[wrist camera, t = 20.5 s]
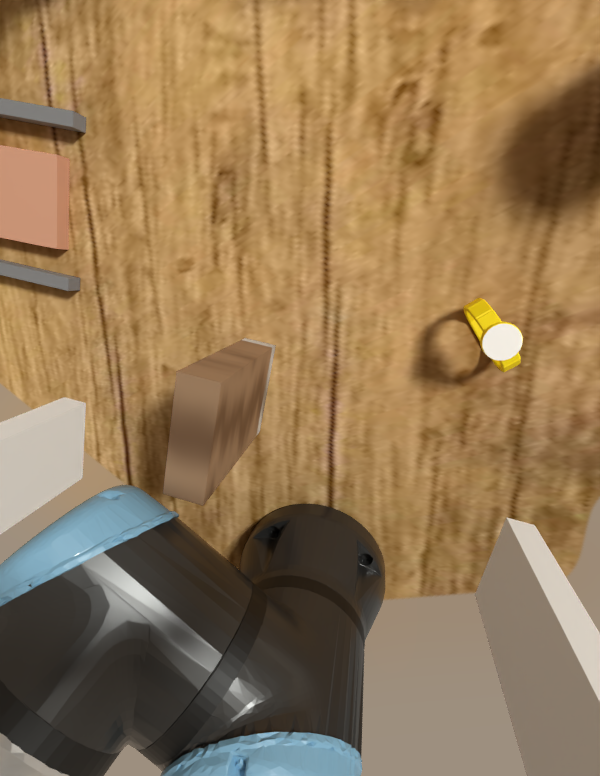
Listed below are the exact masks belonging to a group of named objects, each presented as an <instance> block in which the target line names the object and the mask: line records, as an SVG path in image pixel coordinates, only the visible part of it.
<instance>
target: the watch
mask: <svg viewBox="0 0 600 776" xmlns="http://www.w3.org/2000/svg"><path fill="white" fill-rule="evenodd" d="M464 313H465V316H466V318H467V320H468V322H469V324H470V325H471V327H472V329H473V331H474V332H475V334H476V336H477V338H478V339H479V341H480V346H481V349H482V351H483V352H484V353H485V355H487V356H488V357H489V358H490V359H491V360H492V361H493V363H494V364H495V365H496V366H497V367H498V369H499V370H501V371H502V372H505V371H507V370H509V369H511V368H513V367H515V366H517V365H519V364H520V359H521V358H520V355H519V353H518V352H519V350H520V349H521V346H522V343H523V336H522V333H521V331H520V330H519V329H518V327H516V326H515V325H513V324H511V323H508V322H502V321H501V320H500V318H499V317H498V316H497V314H496V313H495V311H494V310H493V309H492V308H491V307H490V305H489V304H488V303H487V302H486V301H485V300H483V299H481V298H477V299H476V300H474V301H472V302H471V303H469V304H467V305H465V306H464Z"/></svg>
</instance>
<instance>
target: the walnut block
mask: <svg viewBox="0 0 600 776" xmlns="http://www.w3.org/2000/svg"><path fill="white" fill-rule="evenodd" d="M275 346H276V345H272V344H268V343H264V342H259V341H255V340H251V339H247V338H245V339H243V340H241V341H238V342H236V343H234V344H232V345H230V346H228V347H226V348H224V349H222V350H220V351H218V352H216V353H214V354H212V355H210V356H208V357H206V358H203V359H201V360H199V361H197V362H195V363H193V364H191V365H189V366H187V367H185V368H183V369H181V370H179V371H177V373H176V382H175V391H174V400H173V408H172V417H171V426H170V435H169V444H168V453H167V461H166V470H165V479H164V488H163V494H165V495H169V496H172V497H175V498H179V499H182V500H186V501H189V502H192V503H196V504H199V505H204V504H205V503H206V501H207V500H208V499H209V497H210V496H211V495H212V493H213V492H214V491H215V489H216V488H217V487H218V486H219V484H220V483H221V482H222V480H223V479H224V478H225V476H226V475H227V474H228V472H229V471H230V470H231V469H232V467H233V466H234V465H235V463H236V462H237V461H238V459H239V458H240V457H241V455H242V454H243V453H244V452H245V450H246V449H247V448H248V446H249V445H250V444H251V442H252V441H253V440H254V438H255V437H256V436H257V435H258V433H259V432H260V427H261V422H262V416H263V411H264V405H265V400H266V395H267V389H268V384H269V378H270V373H271V367H272V362H273V357H274V351H275Z"/></svg>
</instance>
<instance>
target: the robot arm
mask: <svg viewBox="0 0 600 776" xmlns="http://www.w3.org/2000/svg"><path fill="white" fill-rule="evenodd" d="M85 410H86V403H84V402H80V401H76V400H73V399H69V398H65V397H64V398H61V399H59V400H56V401H54V402H51V403H49V404H46V405H43V406H41V407H38V408H36V409H33V410H31V411H28V412H26V413H24V414H21V415H18V416H16V417H13V418H11V419H9V420H6V421H3V422H1V423H0V535H1V534H2V533H3V532H5V531H6V530H8V529H9V528H11V527H12V526H14V525H15V524H16V523H18V522H19V521H21V520H22V519H24V518H25V517H27V516H28V515H30V514H31V513H33V512H34V511H35V510H37V509H38V508H40V507H41V506H42V505H44V504H46V503H47V502H49V501H50V500H51V499H53V498H54V497H56V496H57V495H59V494H60V493H62V492H63V491H64V490H66V489H67V488H69V487H70V486H72V485H73V484H74V483H76V482H77V481H79V480H80V479H82V477H83V475H82V474H83V454H84V432H85ZM178 516H179V514H177V513H176V512H175V511H169V510H168V509H167V508H165V507H164V506H163V505H161V504H160V503H159V502H157V501H156V500H155V499H154V498H152V497H151V496H150V495H148V494H147V493H146V492H144V491H143V490H141V489H140V488H138V487H135V486H131V485H120V486H116V487H112V488H109V489H107V490H105V491H102V492H100V493H98V494H97V495H95V496H93V497H91V498H90V499H88V500H86V501H85V502H83V503H82V504H80V505H78V506H77V507H75V508H74V509H72V510H71V511H69V512H68V513H66V514H65V515H64V516H62V517H61V518H59V519H58V520H56V521H55V522H54V523H52V524H51V525H49V526H48V527H47V528H45V529H44V530H43V531H41V532H40V533H39V534H37V535H36V536H35V537H34V538H32V539H31V540H30V541H28V542H27V543H26V544H25V545H23V546H22V547H21V548H20V549H18V550H17V551H16V552H15V553H13V554H12V555H11V556H10V557H9V558H8V559H6V560H5V561H4V562H3V563H2V564H1V565H0V776H104V774H105V773H106V772H107V770H108V769H109V767H110V766H111V764H112V763H113V762H114V760H115V759H116V758H117V756H118V755H119V753H120V752H121V751H122V750H123V748H124V747H125V746H126V745H128V744H129V745H130V746H132V747H134V748H136V749H137V750H138V751H139V752H140V753H141V754H143V755H144V756H145V757H146V758H148V759H149V760H150V761H151V762H152V763H154V764H155V765H156V766H157V767H158V768H159V769H160V770H161V771H162V774H161V776H360V775H361V772H362V764H361V762H362V760H361V745H362V712H363V677H364V645H365V644H364V643H365V639H366V637H367V635H368V633H369V631H370V629H371V627H372V625H373V622H374V620H375V618H376V616H377V614H378V612H379V610H380V607H381V605H382V602H383V598H384V593H385V565H384V560H383V556H382V553H381V551H380V549H379V546H378V545H377V543H376V541H375V540H374V538H373V537H372V536H371V534H370V533H369V532H368V531H367V530H366V529H365V528H364V527H363V526H362V525H361V524H360V523H359V522H357V521H356V520H355V519H353V518H352V517H350V516H348V515H347V514H345V513H343V512H341V511H338V510H336V509H333V508H330V507H326V506H322V505H316V504H296V505H290V506H286V507H283V508H280V509H278V510H275V511H273V512H272V513H270V514H268V515H267V516H266V517H264V518H263V519H262V520H261V521H260V522H259V523H258V524H257V525H256V526H255V528H254V529H253V531H252V533H251V535H250V537H249V539H248V541H247V543H246V545H245V547H244V549H243V552H242V556H241V561H240V571H239V570H238V569H237V568H236V567H235V566H234V565H232V564H231V563H230V562H229V561H228V560H226V559H225V558H224V557H223V556H222V555H221V554H219V553H218V552H217V551H216V550H215V549H214V548H212V547H211V546H210V545H209V544H208V543H207V542H205V541H204V540H203V539H202V538H201V537H199V536H198V535H197V534H196V533H195V532H194V531H192V530H191V529H190V528H189V527H188V526H187V525H185V524H184V523H183V522H182V521H181V520H180V519H178V518H177V517H178ZM475 596H476V600H477V603H478V607H479V610H480V614H481V617H482V621H483V624H484V628H485V631H486V634H487V638H488V642H489V645H490V649H491V652H492V655H493V659H494V662H495V666H496V669H497V673H498V676H499V680H500V683H501V687H502V690H503V694H504V697H505V701H506V704H507V708H508V711H509V715H510V718H511V722H512V725H513V729H514V732H515V735H516V739H517V743H518V746H519V750H520V753H521V757H522V760H523V763H524V767H525V770H526V774H527V776H600V633H599V631H598V630H597V628H596V626H595V625H594V623H593V622H592V620H591V618H590V616H589V615H588V613H587V611H586V610H585V608H584V606H583V605H582V603H581V601H580V600H579V598H578V597H577V595H576V593H575V591H574V590H573V588H572V587H571V585H570V583H569V582H568V580H567V578H566V577H565V575H564V573H563V572H562V570H561V568H560V567H559V565H558V563H557V562H556V560H555V558H554V557H553V555H552V553H551V552H550V550H549V548H548V547H547V545H546V543H545V542H544V540H543V538H542V537H541V535H540V533H539V532H538V530H537V528H536V527H535V525H532V524H528V523H525V522H521V521H517V520H514V519H510V518H506V520H505V522H504V525H503V527H502V530H501V532H500V535H499V537H498V540H497V542H496V544H495V547H494V549H493V552H492V554H491V557H490V559H489V562H488V564H487V567H486V569H485V571H484V574H483V576H482V579H481V581H480V584H479V586H478V589H477V591H476V593H475Z"/></svg>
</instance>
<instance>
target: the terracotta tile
mask: <svg viewBox="0 0 600 776" xmlns="http://www.w3.org/2000/svg"><path fill="white" fill-rule="evenodd" d="M0 238H5V239H10V240H15V241H20V242H25V243H30V244H35V245H40V246H45V247H50V248H55V249H65V250H68V245H69V159H68V158H65V157H62V156H59V155H55V154H49V153H43V152H38V151H32V150H26V149H20V148H14V147H8V146H2V145H0Z"/></svg>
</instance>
